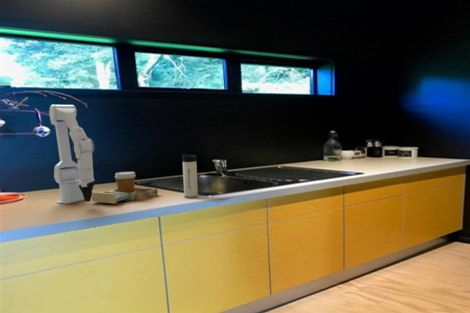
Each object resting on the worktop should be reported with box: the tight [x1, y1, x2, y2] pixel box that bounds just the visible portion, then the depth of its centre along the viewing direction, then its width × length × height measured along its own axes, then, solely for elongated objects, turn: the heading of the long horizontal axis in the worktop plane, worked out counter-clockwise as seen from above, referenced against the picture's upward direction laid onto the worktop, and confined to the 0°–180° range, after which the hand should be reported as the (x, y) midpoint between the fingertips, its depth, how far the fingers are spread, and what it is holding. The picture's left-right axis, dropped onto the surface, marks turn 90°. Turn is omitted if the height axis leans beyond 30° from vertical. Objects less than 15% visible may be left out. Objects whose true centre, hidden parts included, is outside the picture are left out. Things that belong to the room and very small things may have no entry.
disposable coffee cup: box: [114, 171, 137, 193], centre depth 166 cm, size 10×10×12 cm
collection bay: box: [104, 186, 159, 202], centre depth 169 cm, size 14×20×3 cm
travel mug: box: [182, 153, 199, 199], centre depth 163 cm, size 6×7×20 cm
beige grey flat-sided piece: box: [91, 189, 136, 205], centre depth 160 cm, size 13×14×5 cm
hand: (87, 201), depth 147 cm, fingers closed
